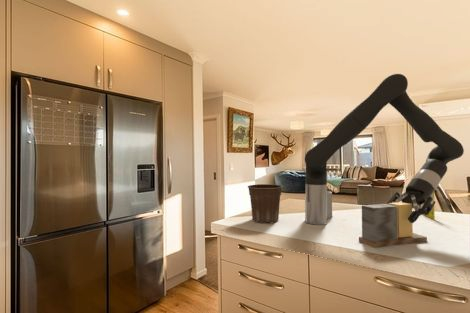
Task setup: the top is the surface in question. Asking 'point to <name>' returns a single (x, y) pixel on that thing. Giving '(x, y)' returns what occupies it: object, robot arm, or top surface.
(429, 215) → the food package
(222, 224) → the top surface
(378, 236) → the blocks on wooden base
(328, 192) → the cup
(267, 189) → the plant pot
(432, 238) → the top surface
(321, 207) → the robot arm
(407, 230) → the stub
